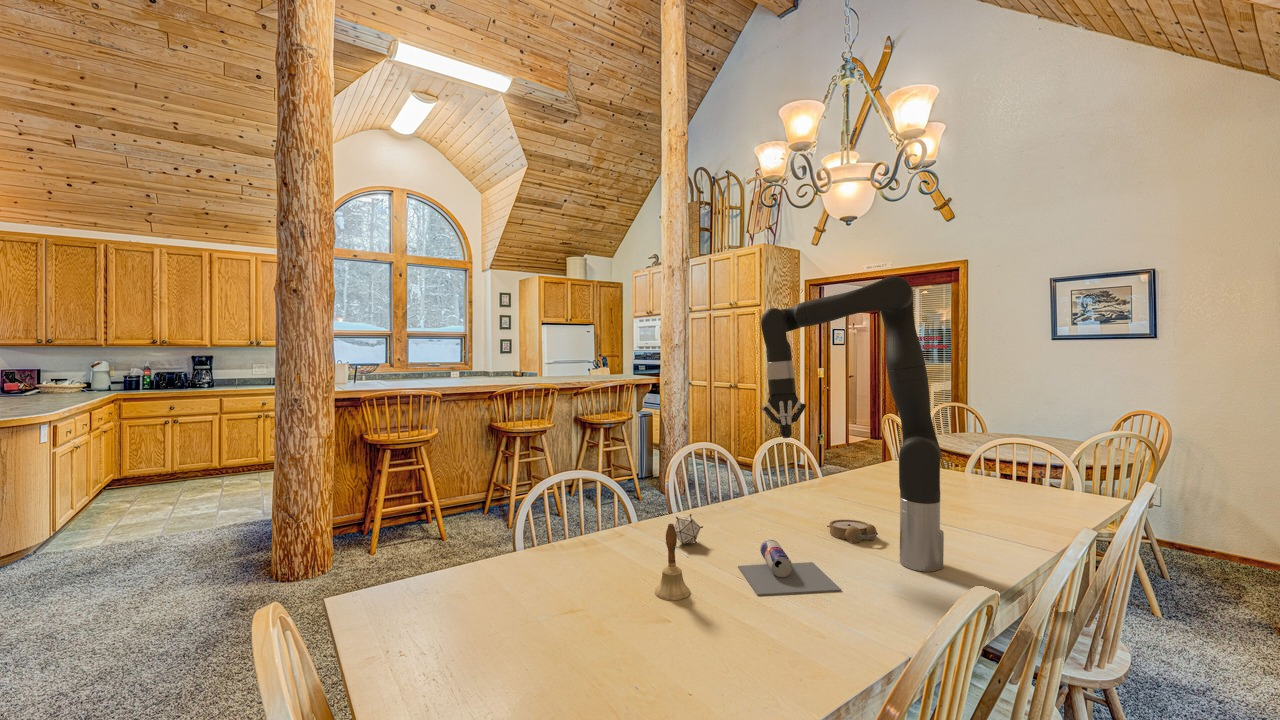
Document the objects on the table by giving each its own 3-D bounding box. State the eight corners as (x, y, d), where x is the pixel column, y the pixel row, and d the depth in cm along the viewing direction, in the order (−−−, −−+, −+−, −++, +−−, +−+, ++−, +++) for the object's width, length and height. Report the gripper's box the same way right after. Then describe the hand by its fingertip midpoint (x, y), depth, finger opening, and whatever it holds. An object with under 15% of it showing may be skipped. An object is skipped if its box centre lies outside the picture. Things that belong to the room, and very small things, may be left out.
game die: (692, 558, 155) (704, 537, 150) (664, 547, 155) (676, 526, 150) (696, 533, 163) (708, 512, 157) (669, 523, 163) (680, 502, 157)
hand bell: (660, 602, 121) (660, 531, 120) (650, 587, 129) (649, 520, 128) (695, 598, 123) (695, 528, 122) (683, 582, 131) (682, 517, 130)
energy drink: (768, 534, 144) (780, 552, 132) (784, 547, 144) (797, 565, 132) (755, 550, 144) (766, 569, 132) (771, 562, 144) (783, 582, 132)
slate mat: (812, 563, 142) (812, 562, 142) (841, 591, 126) (841, 589, 126) (737, 567, 140) (737, 565, 140) (757, 595, 124) (757, 594, 124)
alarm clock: (850, 517, 170) (886, 524, 156) (852, 534, 170) (888, 541, 155) (821, 521, 167) (854, 528, 153) (822, 538, 166) (856, 546, 152)
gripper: (762, 379, 152) (767, 440, 151) (808, 375, 153) (813, 437, 152) (754, 379, 160) (760, 438, 159) (798, 376, 161) (803, 434, 160)
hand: (786, 437), depth 155 cm, fingers closed
